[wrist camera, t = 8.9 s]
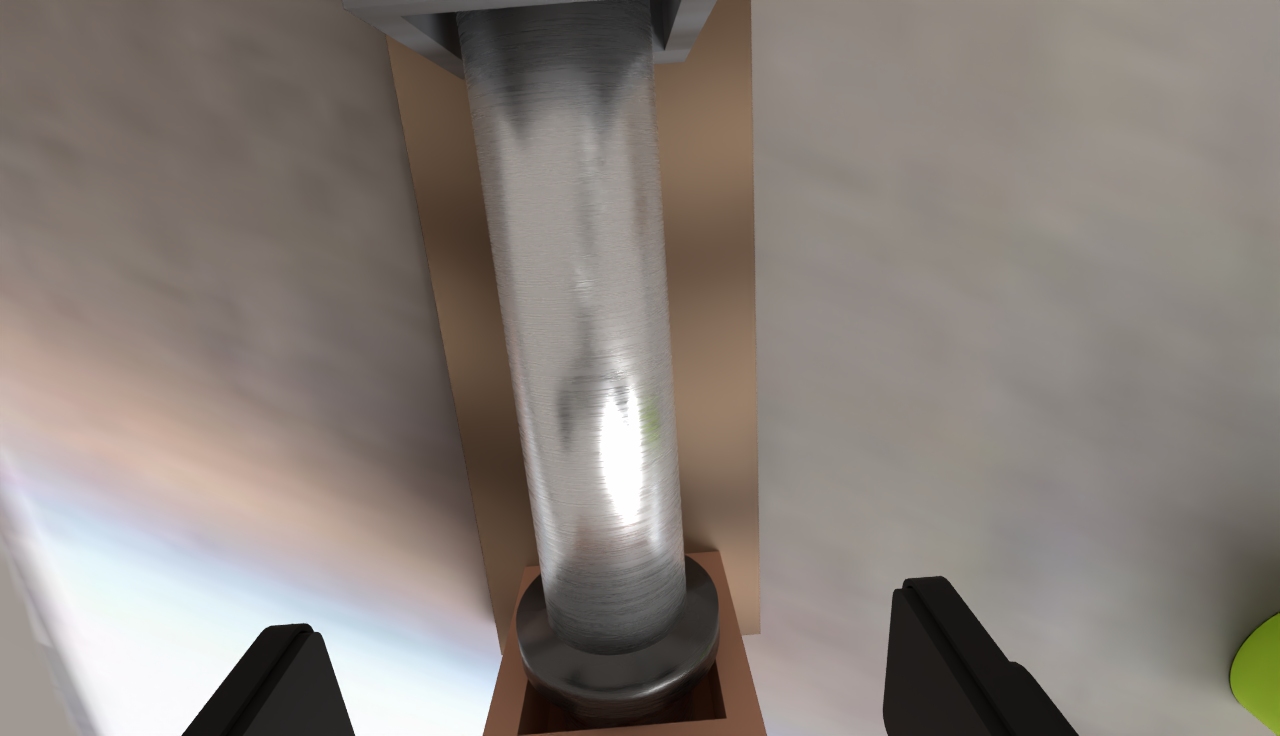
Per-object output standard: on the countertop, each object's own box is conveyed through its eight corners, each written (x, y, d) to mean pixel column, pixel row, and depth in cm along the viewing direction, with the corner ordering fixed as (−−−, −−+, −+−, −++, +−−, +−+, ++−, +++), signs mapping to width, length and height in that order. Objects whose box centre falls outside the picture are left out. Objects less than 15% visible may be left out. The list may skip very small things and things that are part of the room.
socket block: (525, 566, 19) (463, 810, 12) (719, 551, 19) (779, 784, 12) (538, 652, 20) (490, 923, 13) (723, 636, 20) (780, 899, 13)
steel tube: (425, -138, 12) (293, -345, 7) (670, -157, 12) (702, -377, 7) (548, 655, 19) (521, 824, 14) (709, 641, 19) (739, 805, 14)
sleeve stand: (320, -411, 13) (-94, -1214, 5) (732, -443, 13) (881, -1288, 5) (507, 629, 22) (447, 868, 14) (753, 609, 22) (821, 837, 14)
